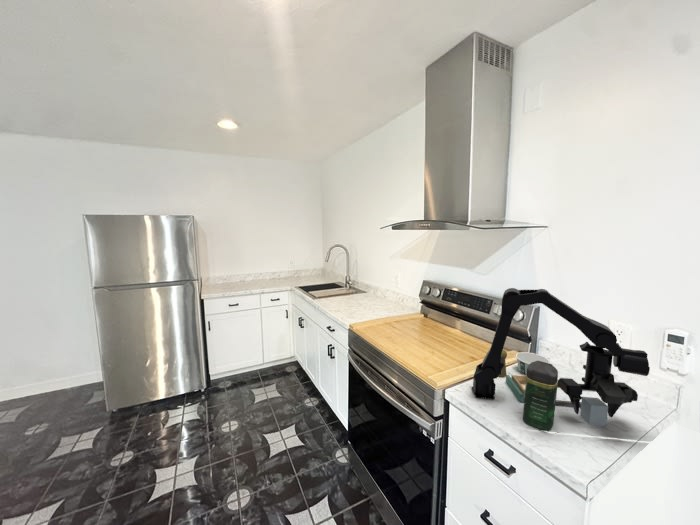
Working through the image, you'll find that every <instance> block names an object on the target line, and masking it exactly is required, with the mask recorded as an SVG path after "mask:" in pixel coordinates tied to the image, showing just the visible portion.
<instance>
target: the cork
mask: <svg viewBox="0 0 700 525" xmlns="http://www.w3.org/2000/svg"><path fill="white" fill-rule="evenodd" d="M501 357H504V358H505V359H507V357H508V352H507V351H506V350H505V349H503V350H502V353H501ZM506 375H507V366H506V362H505V364H504V366H503V368H502V374H501V375H500V374H499V376H498V377H497V378H506Z"/></svg>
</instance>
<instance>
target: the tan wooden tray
mask: <svg viewBox="0 0 700 525" xmlns="http://www.w3.org/2000/svg"><path fill="white" fill-rule="evenodd" d="M510 377H511V379H512V380H513V381H514V383H515V384H516V385H517V387H518V388H519V389H520V391H521V392H522V393H523V395H524V396H523V397H525V387H526V375H525V374H522V375H521V374H511V376H510Z"/></svg>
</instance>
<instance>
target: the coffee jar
mask: <svg viewBox="0 0 700 525" xmlns="http://www.w3.org/2000/svg"><path fill="white" fill-rule="evenodd" d="M525 376H526V387H525V400H524V403H523V411H522V421H523V422H524V423H525V424H526V425H528V427H532V428H534V429H536V430H538V431H542V432H550V431H552V429H553V427H554V422H555V409H556V406H555V404H556V400H557V393H558V388H557V383H558V380H559V371H558V369H557V368H556V366H554V365H553V364H552V363H550V364H549V363H546V362H542V361H535V362H532V363H530V364H529V365H528V368H527V375H525Z"/></svg>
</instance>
